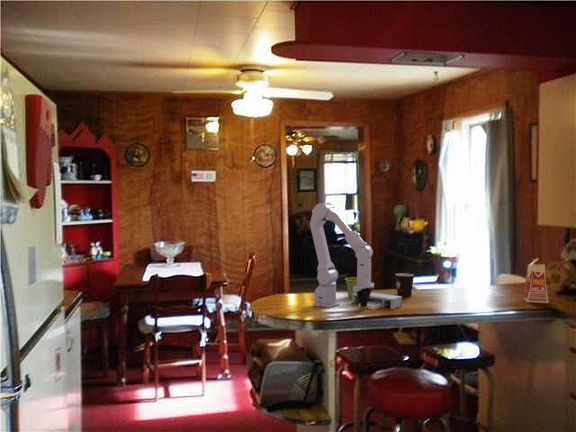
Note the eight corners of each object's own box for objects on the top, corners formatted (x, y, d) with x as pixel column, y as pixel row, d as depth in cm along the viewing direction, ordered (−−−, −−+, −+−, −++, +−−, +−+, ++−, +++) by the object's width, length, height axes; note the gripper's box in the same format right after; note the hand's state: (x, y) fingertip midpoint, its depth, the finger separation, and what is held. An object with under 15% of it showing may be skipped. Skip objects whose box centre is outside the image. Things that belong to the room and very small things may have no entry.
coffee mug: (415, 297, 267) (415, 276, 266) (396, 297, 267) (397, 275, 266) (410, 293, 278) (410, 272, 278) (392, 292, 279) (392, 272, 278)
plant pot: (358, 300, 259) (358, 281, 259) (340, 297, 265) (341, 279, 265) (368, 297, 267) (369, 278, 266) (351, 294, 272) (351, 276, 272)
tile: (372, 310, 239) (373, 306, 239) (358, 308, 244) (358, 303, 243) (387, 306, 248) (387, 301, 248) (373, 304, 253) (373, 299, 253)
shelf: (393, 309, 240) (393, 299, 240) (352, 303, 252) (352, 293, 252) (401, 306, 247) (401, 296, 246) (361, 300, 259) (361, 291, 259)
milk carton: (548, 303, 256) (550, 258, 255) (526, 302, 258) (528, 258, 257) (543, 299, 265) (545, 256, 264) (522, 298, 266) (523, 255, 266)
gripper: (363, 277, 232) (363, 310, 232) (380, 273, 243) (380, 305, 244) (348, 275, 236) (348, 308, 237) (366, 271, 247) (365, 303, 248)
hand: (363, 306), depth 240 cm, fingers closed
